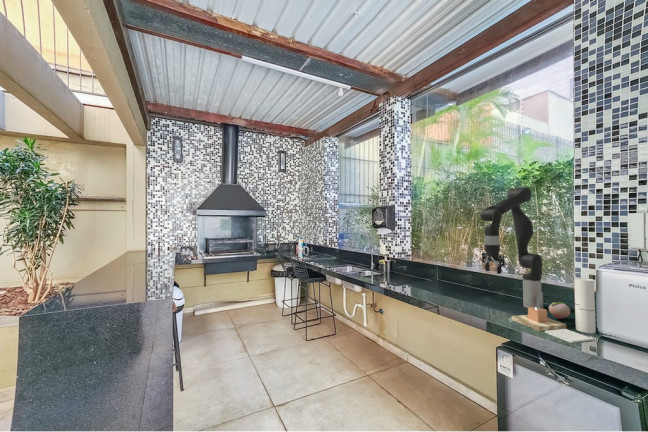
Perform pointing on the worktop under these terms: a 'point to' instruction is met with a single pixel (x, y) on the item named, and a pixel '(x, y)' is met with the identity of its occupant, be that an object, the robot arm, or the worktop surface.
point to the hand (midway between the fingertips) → (493, 272)
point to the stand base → (539, 323)
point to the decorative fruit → (559, 310)
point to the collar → (537, 314)
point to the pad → (568, 335)
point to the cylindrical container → (584, 305)
